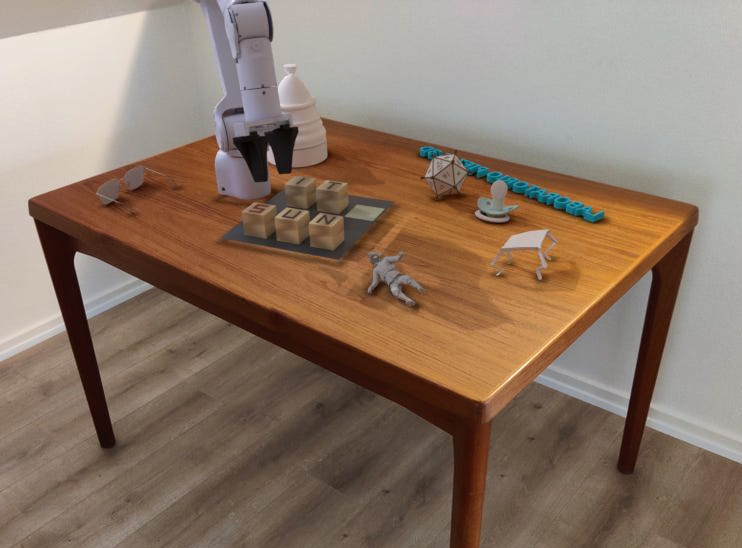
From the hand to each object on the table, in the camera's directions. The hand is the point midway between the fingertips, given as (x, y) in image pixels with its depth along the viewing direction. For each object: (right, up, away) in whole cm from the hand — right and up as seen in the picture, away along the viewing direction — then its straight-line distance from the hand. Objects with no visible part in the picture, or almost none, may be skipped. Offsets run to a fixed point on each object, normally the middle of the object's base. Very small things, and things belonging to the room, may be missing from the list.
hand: (273, 177), depth 118 cm
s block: (-3, -8, +6) cm, 10 cm away
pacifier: (+38, -4, +11) cm, 39 cm away
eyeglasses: (-28, +1, +21) cm, 35 cm away
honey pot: (0, +14, +38) cm, 40 cm away
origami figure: (+40, -15, -4) cm, 43 cm away
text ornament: (+41, +4, +23) cm, 47 cm away
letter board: (+5, -6, +10) cm, 13 cm away
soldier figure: (+19, -19, -9) cm, 29 cm away
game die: (+30, +1, +19) cm, 35 cm away
